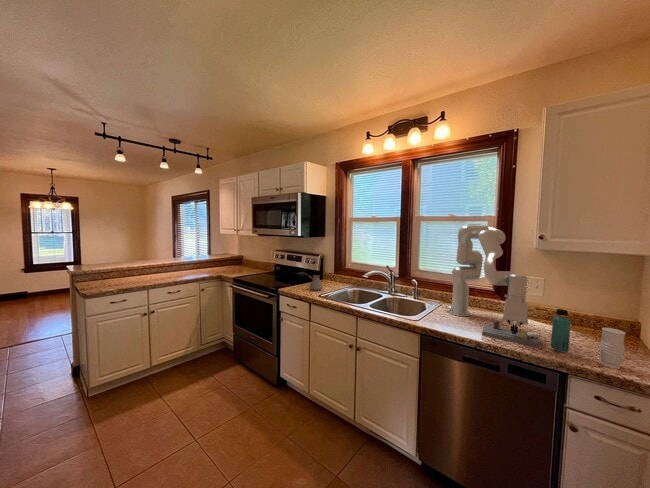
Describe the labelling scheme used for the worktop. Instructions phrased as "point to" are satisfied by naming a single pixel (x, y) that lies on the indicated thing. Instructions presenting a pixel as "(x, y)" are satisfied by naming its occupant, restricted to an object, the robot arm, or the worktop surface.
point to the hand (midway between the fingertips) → (513, 333)
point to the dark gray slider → (496, 324)
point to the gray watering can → (315, 283)
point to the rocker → (532, 334)
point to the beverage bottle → (561, 331)
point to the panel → (509, 335)
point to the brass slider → (522, 333)
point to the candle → (612, 348)
